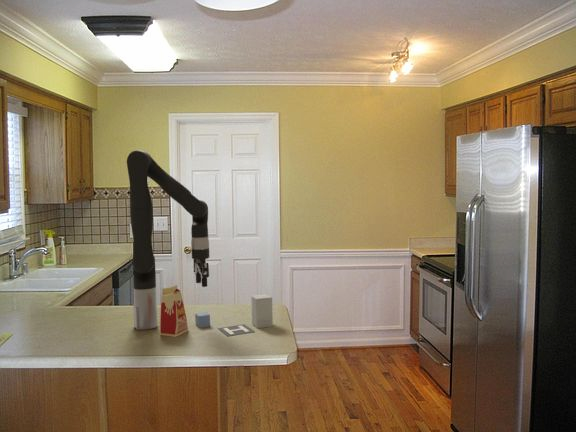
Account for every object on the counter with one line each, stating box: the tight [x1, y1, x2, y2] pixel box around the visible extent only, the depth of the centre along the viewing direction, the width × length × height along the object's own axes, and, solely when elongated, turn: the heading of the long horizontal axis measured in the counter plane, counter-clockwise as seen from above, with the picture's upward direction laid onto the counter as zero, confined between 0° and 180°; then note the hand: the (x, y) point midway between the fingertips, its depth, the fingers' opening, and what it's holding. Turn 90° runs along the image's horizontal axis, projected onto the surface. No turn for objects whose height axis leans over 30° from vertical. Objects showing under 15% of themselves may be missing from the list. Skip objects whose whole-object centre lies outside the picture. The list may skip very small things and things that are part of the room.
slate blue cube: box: [194, 311, 211, 328], centre depth 225 cm, size 5×5×5 cm
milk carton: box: [159, 285, 189, 338], centre depth 214 cm, size 9×9×20 cm
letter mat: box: [217, 323, 256, 337], centre depth 217 cm, size 12×12×1 cm
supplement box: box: [250, 293, 274, 329], centre depth 223 cm, size 7×7×13 cm
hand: (201, 284), depth 223 cm, fingers open, 8 cm apart
